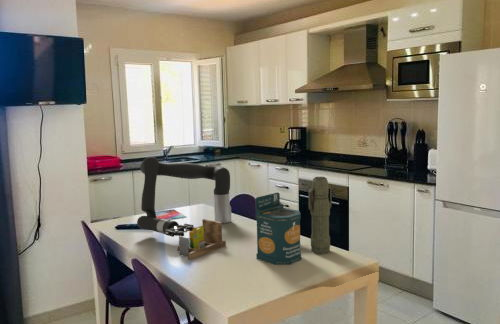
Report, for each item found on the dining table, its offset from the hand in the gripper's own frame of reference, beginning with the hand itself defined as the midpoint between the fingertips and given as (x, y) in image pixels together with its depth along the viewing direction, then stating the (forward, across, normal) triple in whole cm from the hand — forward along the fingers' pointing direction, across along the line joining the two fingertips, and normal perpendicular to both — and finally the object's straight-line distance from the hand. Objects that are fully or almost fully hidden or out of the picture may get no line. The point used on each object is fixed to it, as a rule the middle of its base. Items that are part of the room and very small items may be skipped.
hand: (190, 232), depth 209 cm
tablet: (-61, +38, +9) cm, 72 cm away
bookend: (+6, -9, +8) cm, 13 cm away
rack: (+6, 0, +8) cm, 10 cm away
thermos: (+55, +30, +8) cm, 63 cm away
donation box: (+45, +13, +8) cm, 48 cm away
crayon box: (+5, 0, +8) cm, 10 cm away
